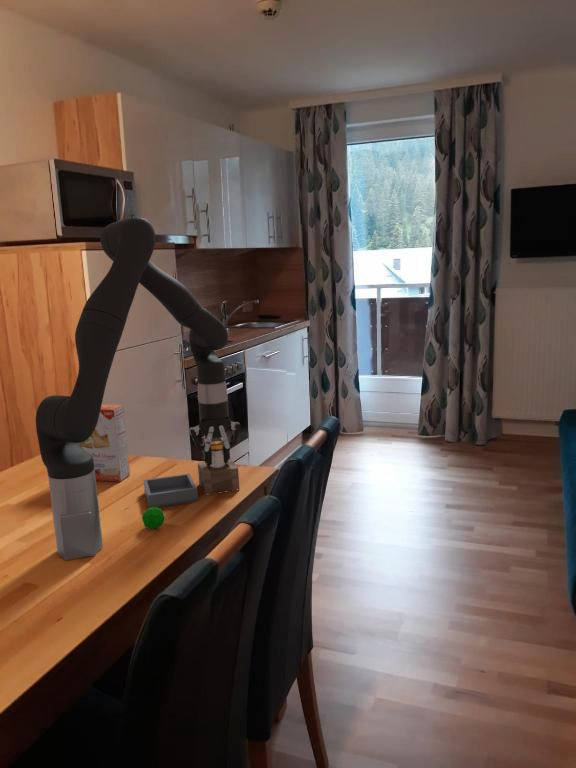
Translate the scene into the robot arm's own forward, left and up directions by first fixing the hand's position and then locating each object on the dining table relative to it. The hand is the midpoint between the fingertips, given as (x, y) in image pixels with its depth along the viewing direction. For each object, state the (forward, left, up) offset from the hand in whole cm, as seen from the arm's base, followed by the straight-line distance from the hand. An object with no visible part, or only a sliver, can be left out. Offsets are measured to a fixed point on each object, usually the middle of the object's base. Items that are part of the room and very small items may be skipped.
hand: (217, 462), depth 169 cm
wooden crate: (0, 0, -7) cm, 7 cm away
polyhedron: (-20, +19, -7) cm, 28 cm away
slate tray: (-2, +13, -7) cm, 15 cm away
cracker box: (+21, +29, -7) cm, 36 cm away
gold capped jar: (0, 0, -7) cm, 7 cm away
